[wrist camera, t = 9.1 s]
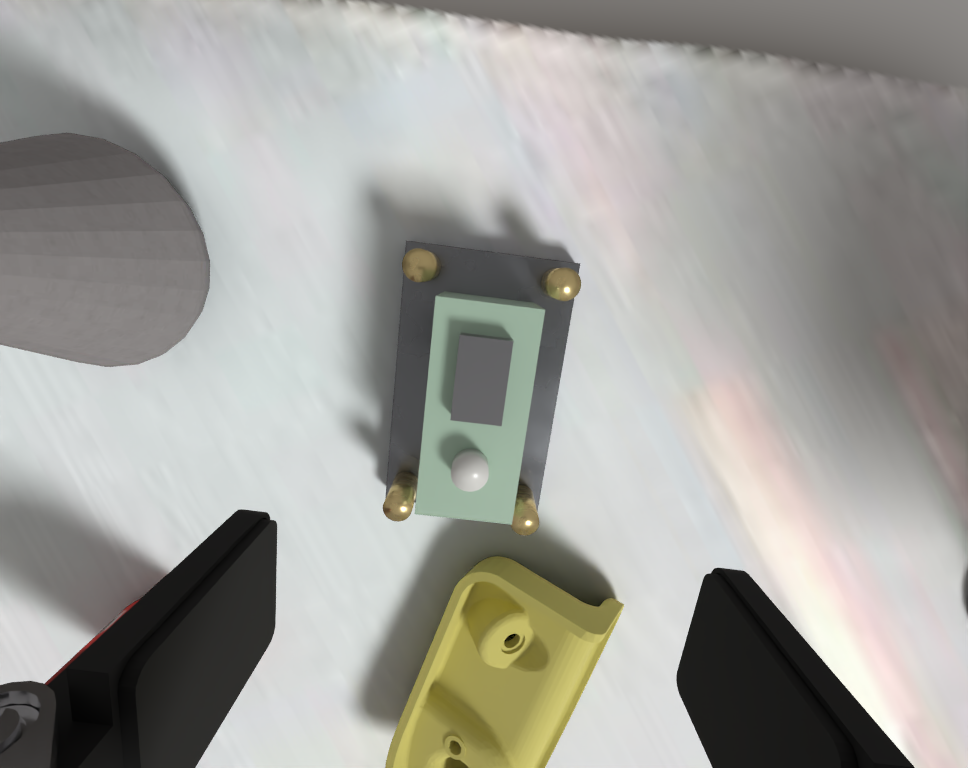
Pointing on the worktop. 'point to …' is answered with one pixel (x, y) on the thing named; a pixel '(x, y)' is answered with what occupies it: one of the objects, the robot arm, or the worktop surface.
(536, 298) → the chassis
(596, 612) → the plastic component
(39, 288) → the coffee pot
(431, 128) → the worktop surface
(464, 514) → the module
